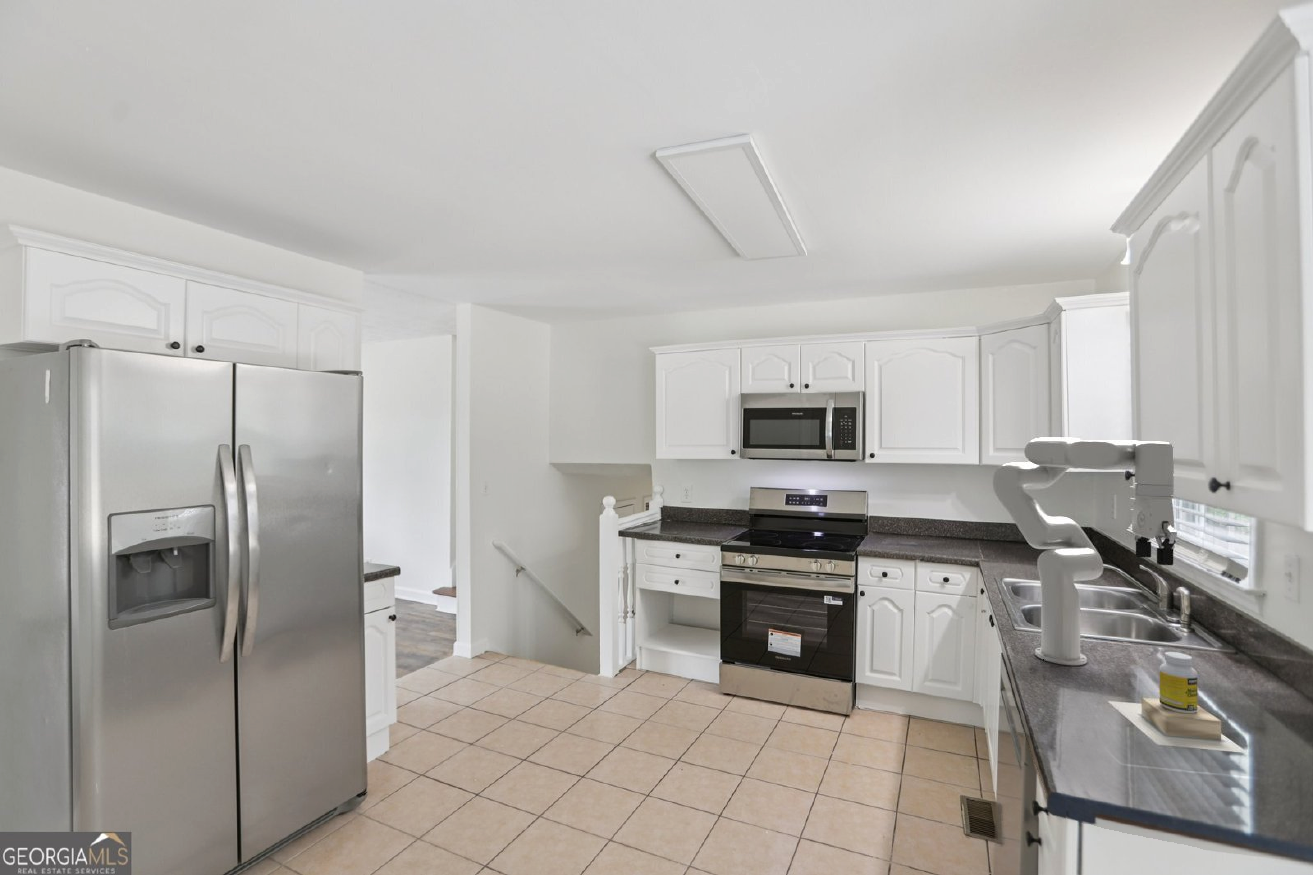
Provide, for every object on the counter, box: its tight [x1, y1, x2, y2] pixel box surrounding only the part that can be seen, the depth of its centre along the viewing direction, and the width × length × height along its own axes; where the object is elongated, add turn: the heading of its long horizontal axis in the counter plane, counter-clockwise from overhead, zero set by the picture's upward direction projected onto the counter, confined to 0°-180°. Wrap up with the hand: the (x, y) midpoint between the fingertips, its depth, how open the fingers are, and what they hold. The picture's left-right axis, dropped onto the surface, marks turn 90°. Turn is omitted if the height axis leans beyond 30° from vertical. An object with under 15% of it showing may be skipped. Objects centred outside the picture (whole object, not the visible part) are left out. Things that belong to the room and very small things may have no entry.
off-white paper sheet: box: [1107, 700, 1249, 754], centre depth 140 cm, size 22×16×1 cm
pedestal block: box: [1141, 697, 1222, 740], centre depth 139 cm, size 10×10×4 cm
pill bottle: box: [1159, 651, 1199, 713], centre depth 139 cm, size 6×6×12 cm
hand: (1153, 560), depth 156 cm, fingers open, 9 cm apart
